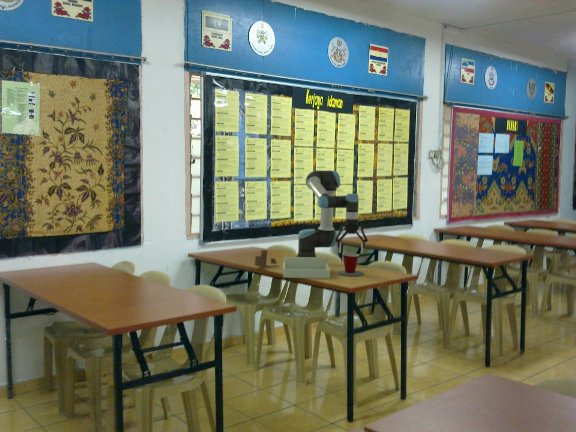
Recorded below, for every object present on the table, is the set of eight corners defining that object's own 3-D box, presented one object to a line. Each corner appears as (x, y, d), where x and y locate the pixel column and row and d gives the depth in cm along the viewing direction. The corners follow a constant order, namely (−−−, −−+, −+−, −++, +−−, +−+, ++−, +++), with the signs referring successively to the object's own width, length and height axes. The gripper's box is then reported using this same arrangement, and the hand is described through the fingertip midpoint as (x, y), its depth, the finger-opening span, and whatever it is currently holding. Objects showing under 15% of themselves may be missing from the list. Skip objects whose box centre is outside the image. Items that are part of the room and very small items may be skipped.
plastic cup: (355, 274, 368) (355, 255, 367) (338, 272, 373) (339, 253, 372) (361, 272, 377) (362, 253, 376) (346, 270, 383) (346, 251, 382)
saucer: (336, 271, 383) (336, 270, 383) (361, 271, 383) (361, 270, 383) (338, 276, 367) (338, 274, 367) (365, 276, 367) (365, 275, 367)
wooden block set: (260, 269, 389) (261, 253, 388) (249, 266, 394) (251, 251, 393) (276, 265, 404) (278, 250, 403) (266, 263, 409) (267, 248, 408)
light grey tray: (283, 269, 389) (283, 257, 388) (326, 269, 389) (326, 257, 388) (283, 277, 361) (283, 264, 360) (329, 278, 361) (330, 264, 361)
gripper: (332, 219, 368) (331, 253, 370) (372, 219, 369) (371, 253, 371) (331, 217, 376) (330, 251, 378) (371, 218, 376) (370, 252, 378)
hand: (351, 252), depth 374 cm, fingers open, 13 cm apart
